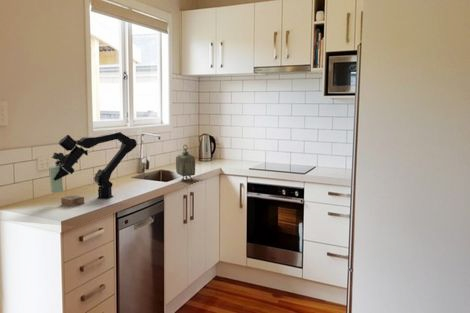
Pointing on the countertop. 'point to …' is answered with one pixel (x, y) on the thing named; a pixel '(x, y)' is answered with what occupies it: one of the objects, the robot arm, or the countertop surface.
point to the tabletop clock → (185, 164)
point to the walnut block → (72, 200)
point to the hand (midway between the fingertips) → (53, 179)
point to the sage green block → (55, 185)
